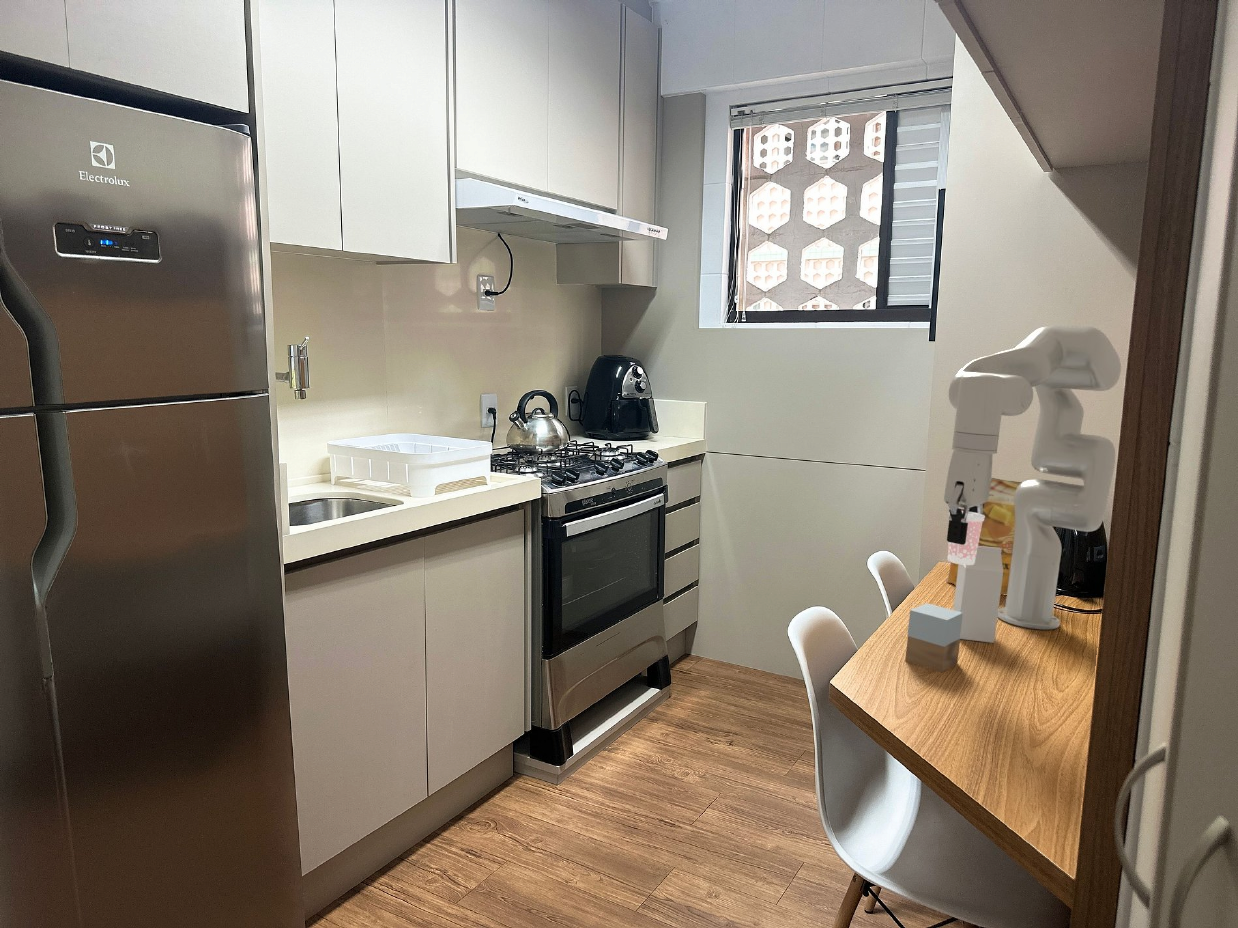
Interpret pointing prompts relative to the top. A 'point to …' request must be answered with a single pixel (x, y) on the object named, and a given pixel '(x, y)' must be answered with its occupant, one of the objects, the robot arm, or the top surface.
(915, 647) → the bottom block
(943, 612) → the top block
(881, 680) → the top surface
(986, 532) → the pancake mix bag
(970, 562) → the beverage cup
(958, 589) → the milk carton
